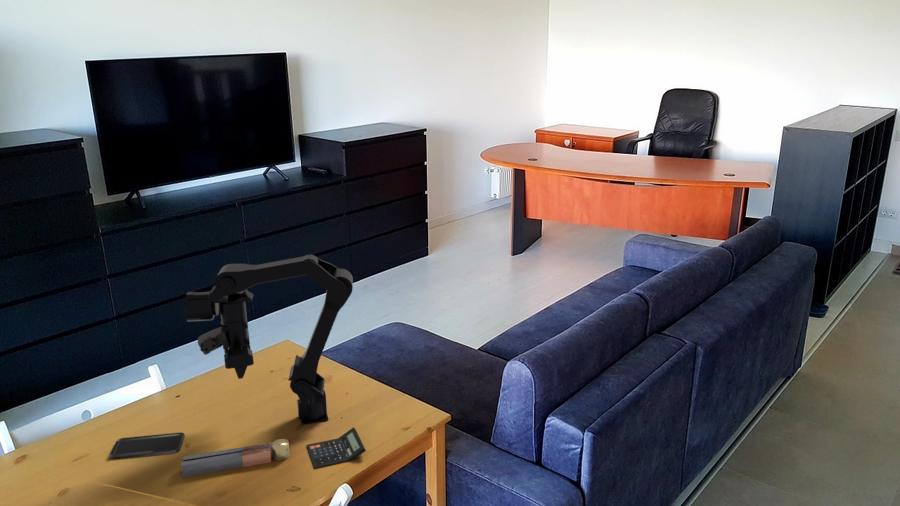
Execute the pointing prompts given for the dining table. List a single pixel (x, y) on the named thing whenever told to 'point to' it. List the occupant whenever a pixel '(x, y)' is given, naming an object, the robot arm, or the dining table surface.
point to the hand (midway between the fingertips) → (240, 377)
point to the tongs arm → (277, 450)
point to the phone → (147, 445)
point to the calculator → (336, 450)
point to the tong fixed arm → (226, 462)
